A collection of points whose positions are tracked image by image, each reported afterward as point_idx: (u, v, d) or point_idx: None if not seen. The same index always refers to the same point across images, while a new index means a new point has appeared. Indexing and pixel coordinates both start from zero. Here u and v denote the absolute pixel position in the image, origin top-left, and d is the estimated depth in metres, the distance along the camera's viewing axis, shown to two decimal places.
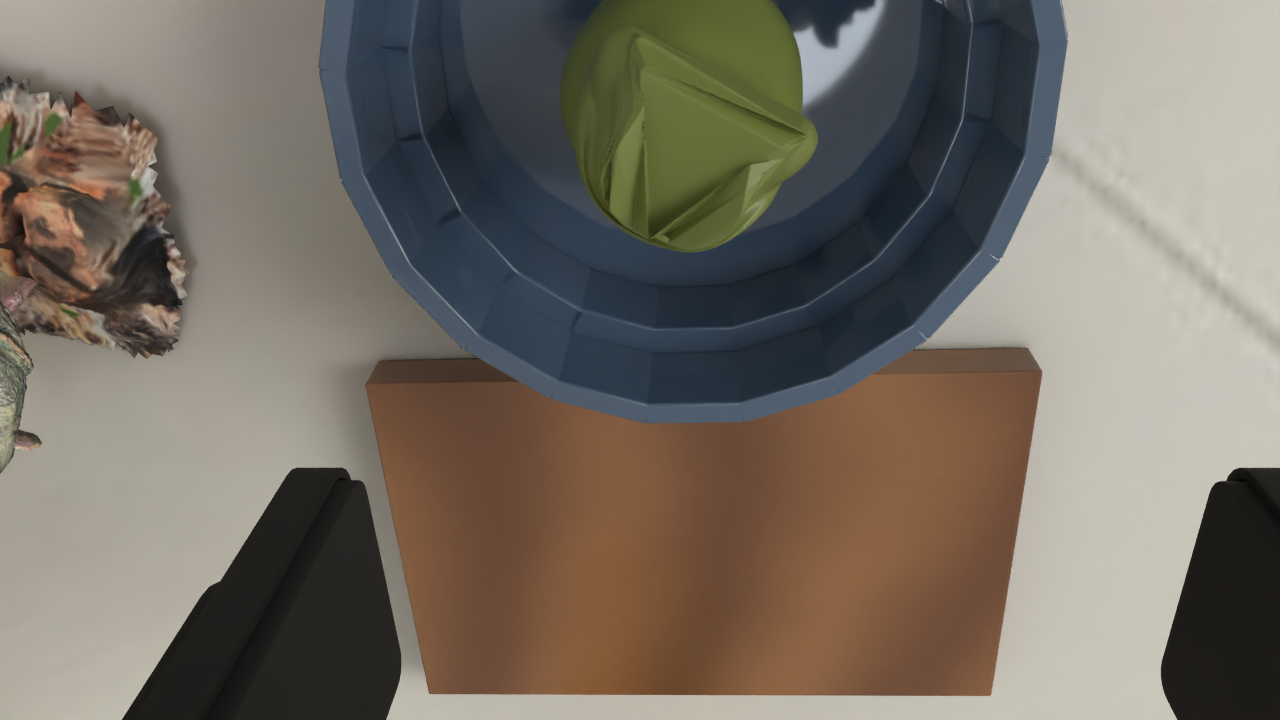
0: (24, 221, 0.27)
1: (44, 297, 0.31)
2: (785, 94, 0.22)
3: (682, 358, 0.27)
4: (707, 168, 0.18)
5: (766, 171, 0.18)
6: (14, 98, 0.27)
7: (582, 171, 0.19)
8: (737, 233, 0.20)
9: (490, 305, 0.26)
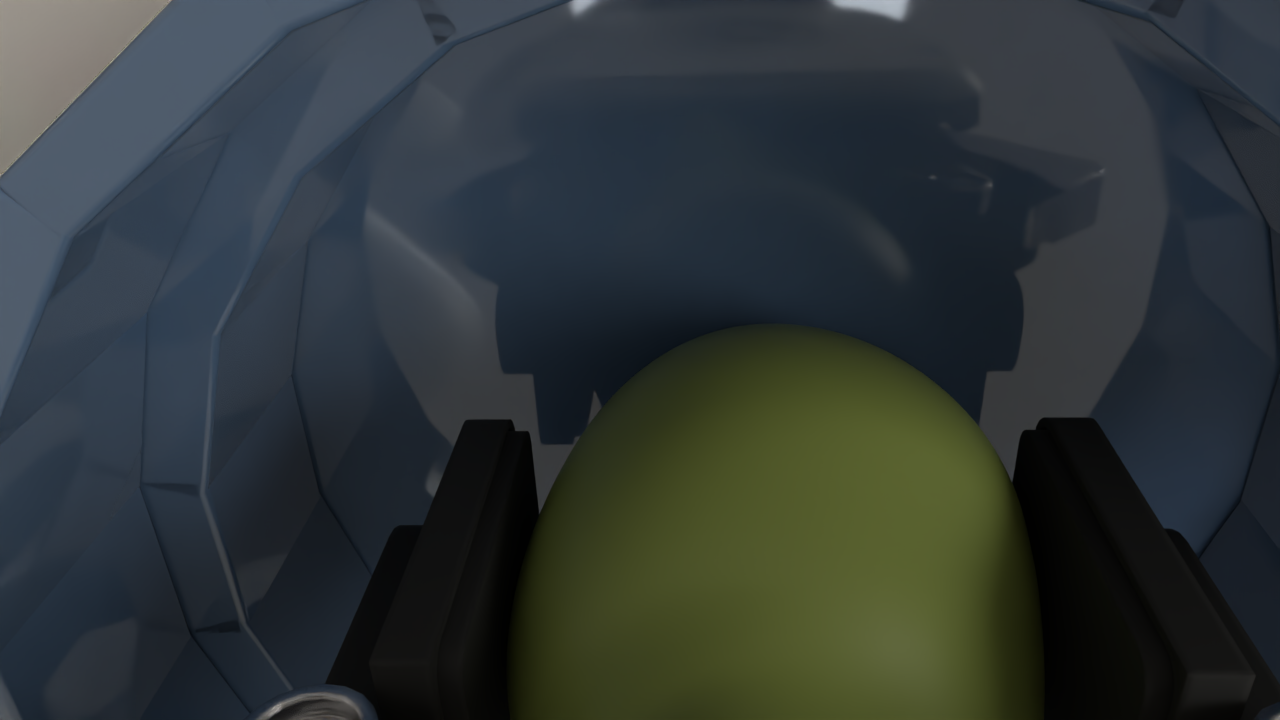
0: None
1: None
2: (1029, 707, 0.09)
3: None
4: None
5: None
6: None
7: None
8: None
9: None
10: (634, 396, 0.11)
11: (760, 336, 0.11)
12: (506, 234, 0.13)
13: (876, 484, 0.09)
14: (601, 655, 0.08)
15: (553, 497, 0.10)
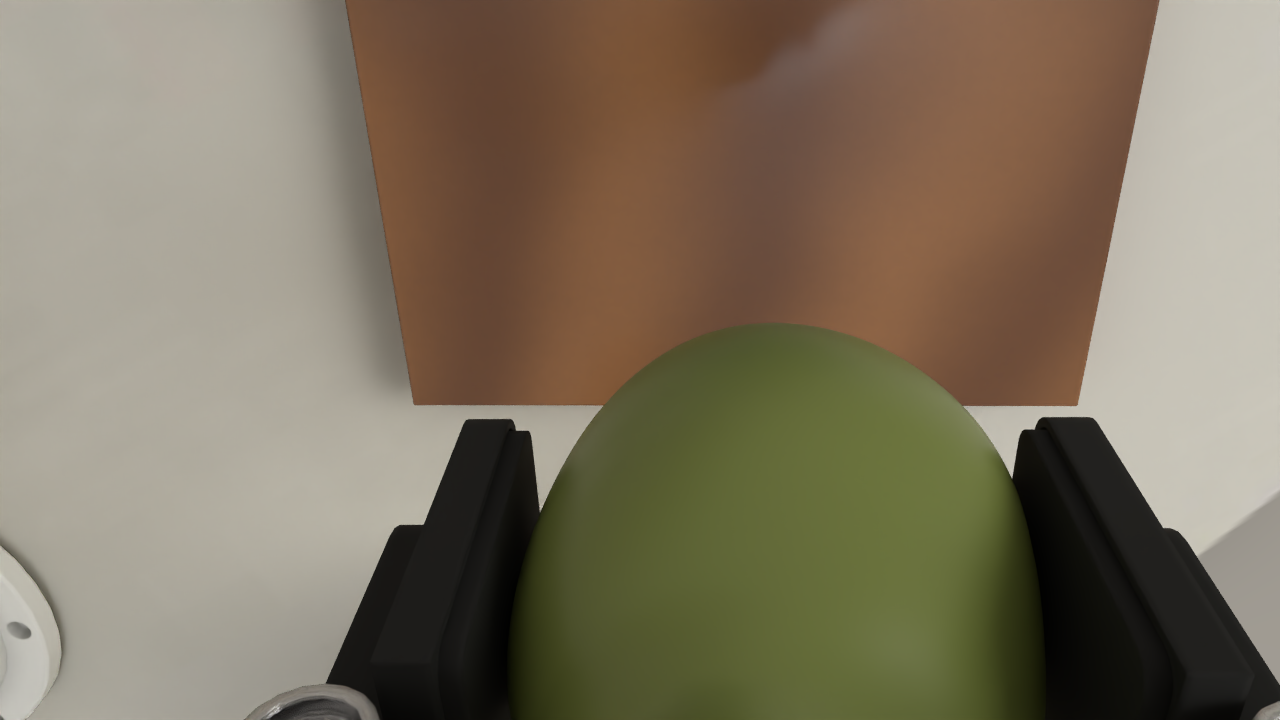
0: None
1: None
2: (1031, 706, 0.09)
3: None
4: None
5: None
6: None
7: None
8: None
9: None
10: (635, 395, 0.11)
11: (760, 335, 0.11)
12: None
13: (878, 483, 0.09)
14: (602, 655, 0.08)
15: (553, 496, 0.10)
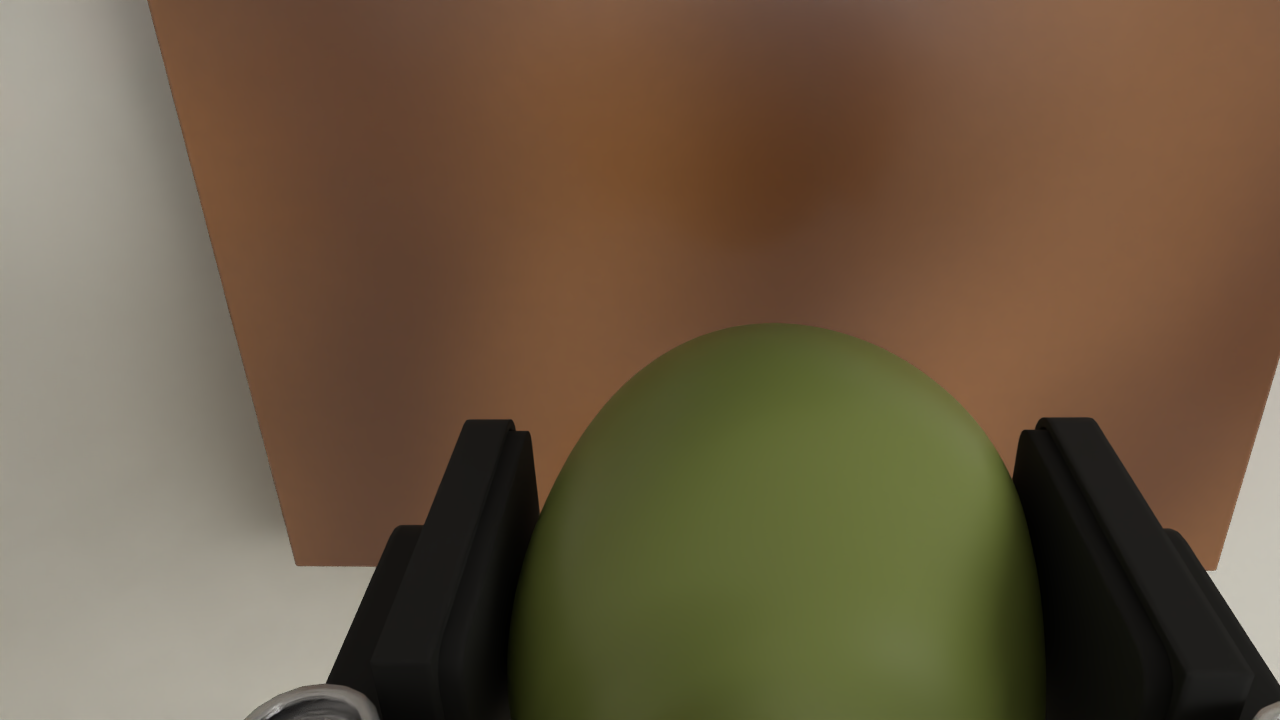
0: None
1: None
2: (1031, 706, 0.09)
3: None
4: None
5: None
6: None
7: None
8: None
9: None
10: (635, 396, 0.11)
11: (761, 336, 0.11)
12: None
13: (877, 484, 0.09)
14: (602, 656, 0.08)
15: (554, 497, 0.10)
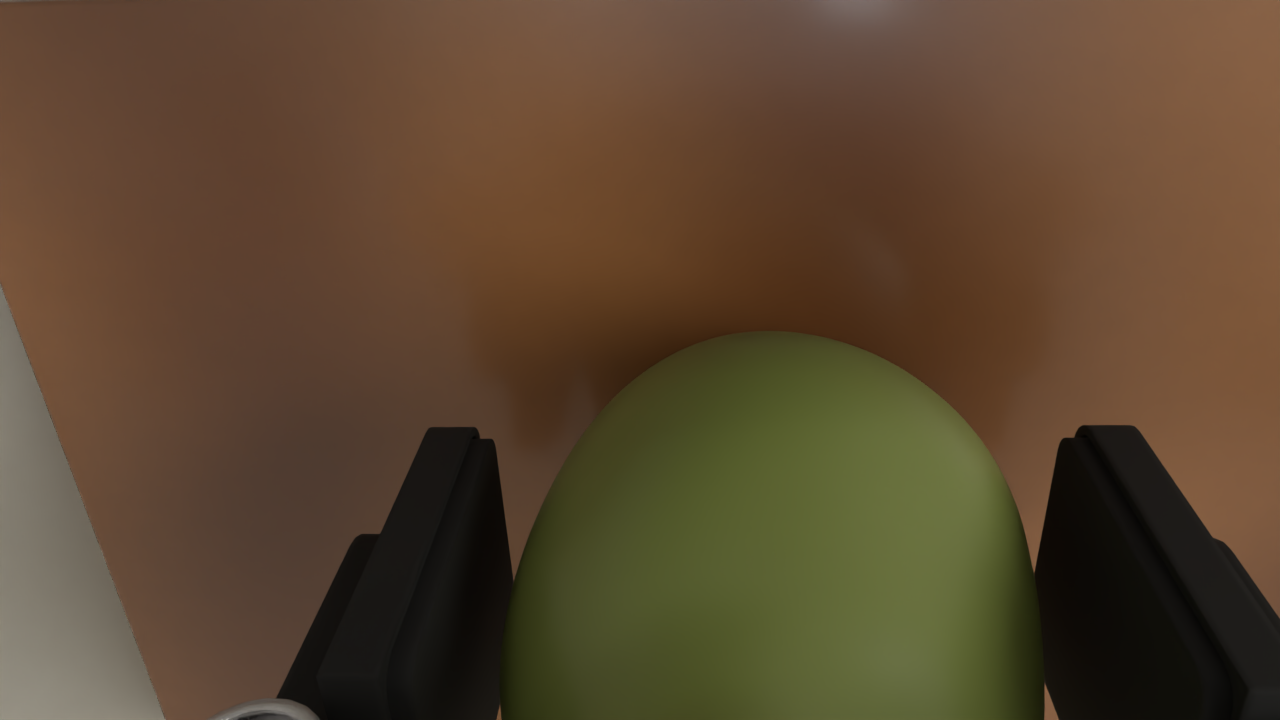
0: None
1: None
2: None
3: None
4: None
5: None
6: None
7: None
8: None
9: None
10: (629, 405, 0.10)
11: (757, 344, 0.11)
12: None
13: (874, 495, 0.09)
14: (595, 670, 0.08)
15: (547, 507, 0.10)
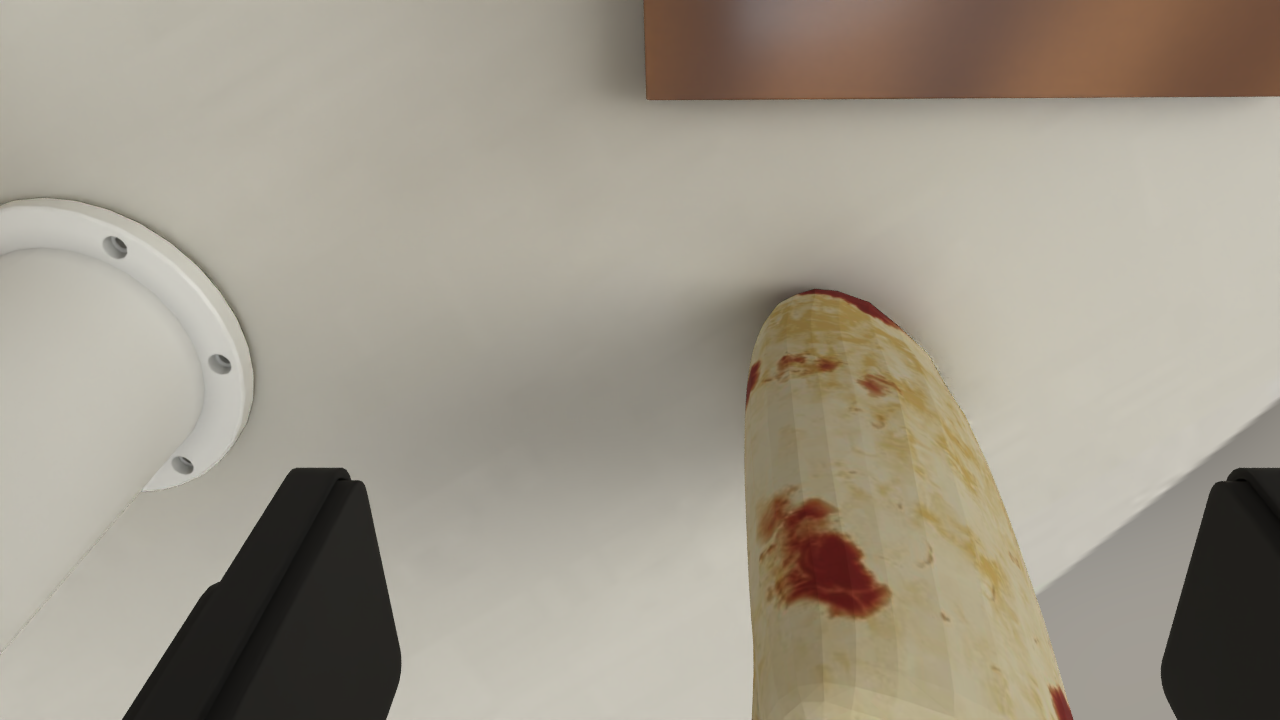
0: None
1: None
2: None
3: None
4: None
5: None
6: None
7: None
8: None
9: None
10: None
11: None
12: None
13: None
14: None
15: None
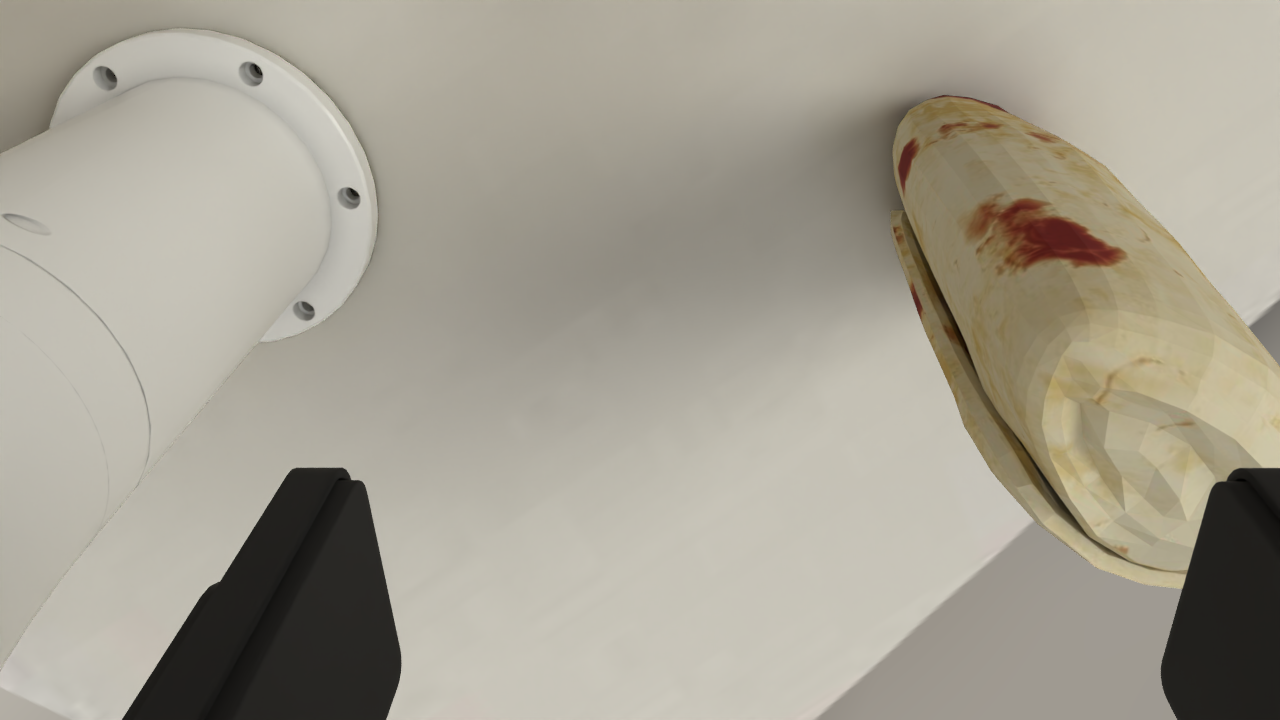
0: None
1: None
2: None
3: None
4: None
5: None
6: None
7: None
8: None
9: None
10: None
11: None
12: None
13: None
14: None
15: None
